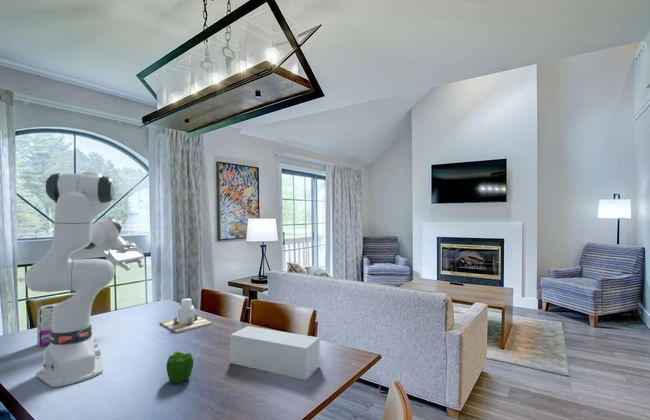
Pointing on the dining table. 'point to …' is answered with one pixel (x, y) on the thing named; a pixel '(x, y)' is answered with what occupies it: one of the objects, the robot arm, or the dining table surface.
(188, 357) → the bell pepper
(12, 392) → the dining table surface
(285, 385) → the dining table surface
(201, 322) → the stub cradle
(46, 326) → the candy bar box
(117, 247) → the robot arm
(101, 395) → the dining table surface
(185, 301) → the medicine bottle
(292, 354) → the stack of papers
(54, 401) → the dining table surface
